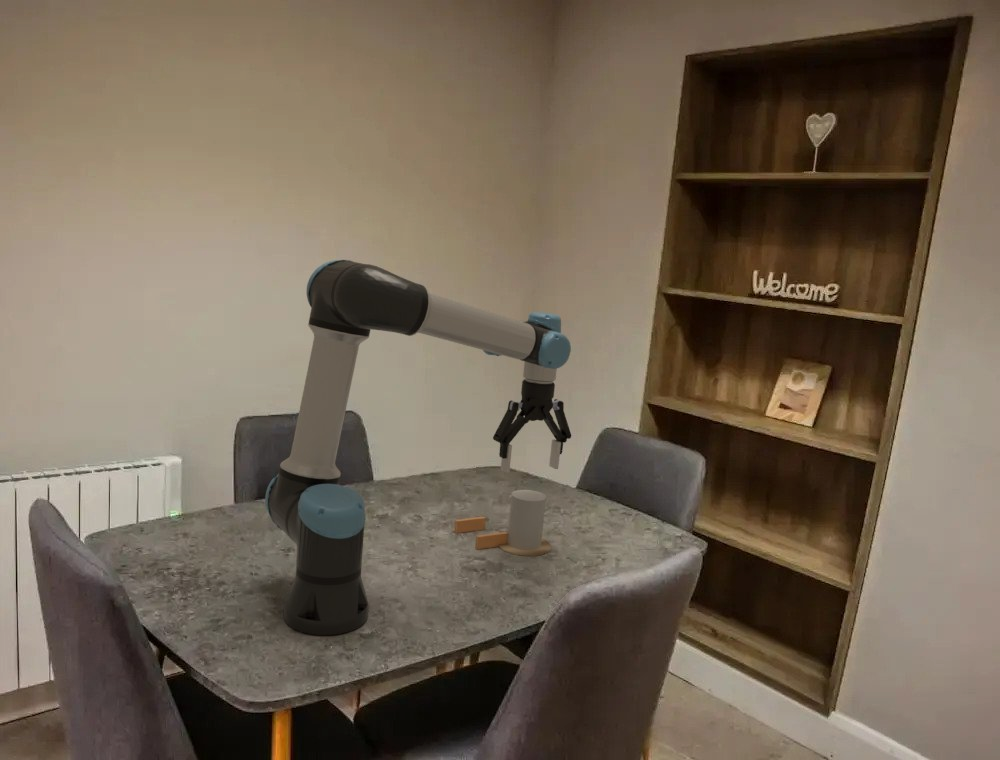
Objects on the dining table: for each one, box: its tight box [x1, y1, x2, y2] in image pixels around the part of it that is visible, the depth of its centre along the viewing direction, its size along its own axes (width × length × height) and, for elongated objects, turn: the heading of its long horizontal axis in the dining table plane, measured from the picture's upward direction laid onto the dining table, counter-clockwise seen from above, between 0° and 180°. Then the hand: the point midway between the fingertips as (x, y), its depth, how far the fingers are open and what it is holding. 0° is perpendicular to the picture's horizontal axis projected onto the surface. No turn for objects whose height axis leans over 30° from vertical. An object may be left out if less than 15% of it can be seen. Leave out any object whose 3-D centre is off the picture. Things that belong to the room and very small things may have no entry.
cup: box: [507, 489, 547, 550], centre depth 185 cm, size 8×8×12 cm
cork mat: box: [498, 537, 552, 557], centre depth 186 cm, size 13×13×1 cm
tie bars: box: [454, 516, 508, 550], centre depth 187 cm, size 12×8×3 cm
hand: (529, 469), depth 182 cm, fingers open, 13 cm apart
